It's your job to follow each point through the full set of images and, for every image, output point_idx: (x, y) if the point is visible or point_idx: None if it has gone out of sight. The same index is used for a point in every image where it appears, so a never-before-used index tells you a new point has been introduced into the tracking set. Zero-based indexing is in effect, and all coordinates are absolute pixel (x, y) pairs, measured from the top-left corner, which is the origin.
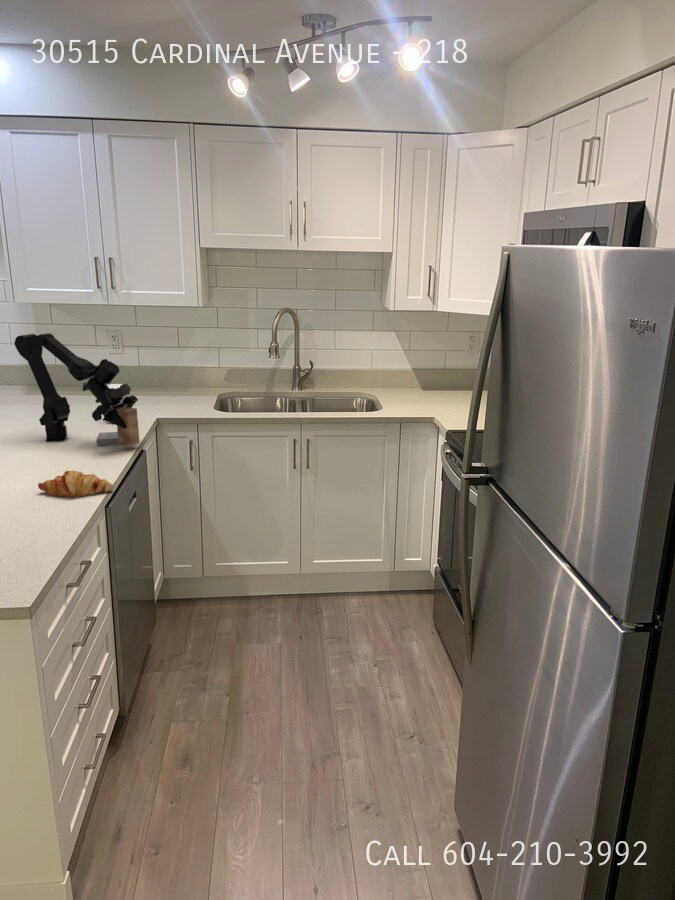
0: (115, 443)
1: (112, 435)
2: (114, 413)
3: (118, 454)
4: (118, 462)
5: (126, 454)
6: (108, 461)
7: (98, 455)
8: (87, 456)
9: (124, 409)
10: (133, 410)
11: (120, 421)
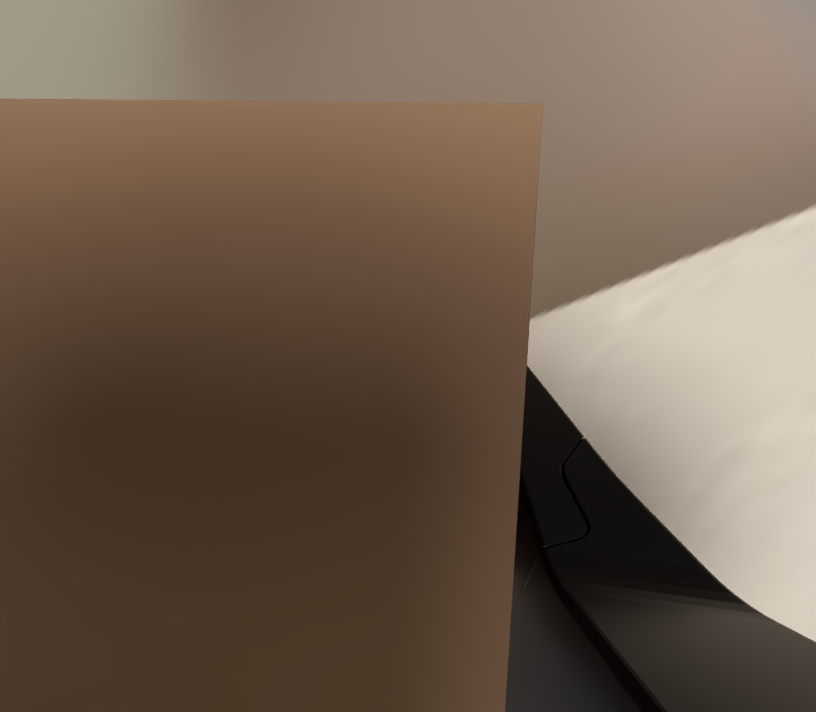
0: None
1: None
2: (797, 634)
3: (569, 400)
4: (759, 276)
5: (547, 337)
6: (768, 370)
7: None
8: None
9: (250, 452)
10: (181, 130)
11: (556, 419)
